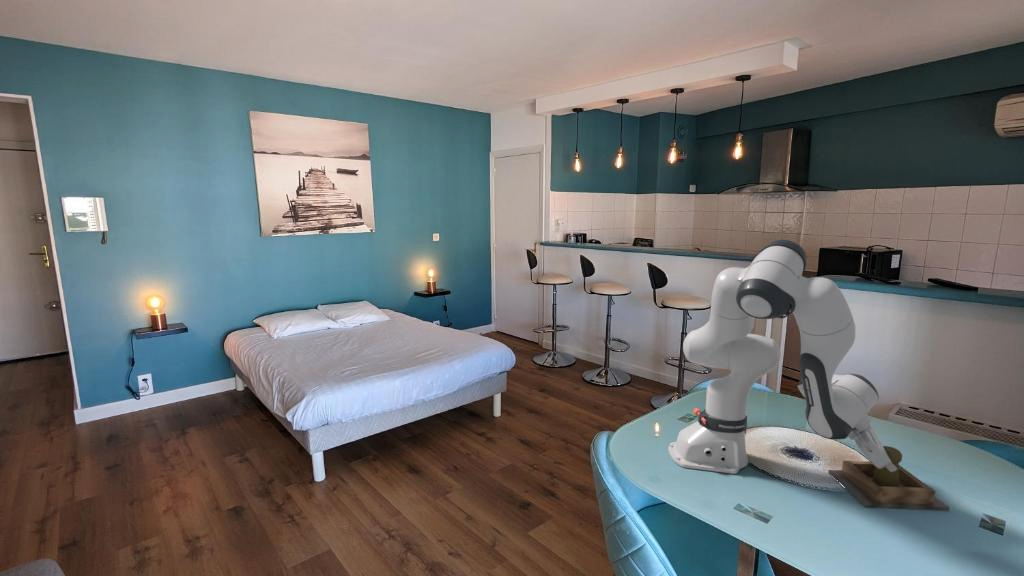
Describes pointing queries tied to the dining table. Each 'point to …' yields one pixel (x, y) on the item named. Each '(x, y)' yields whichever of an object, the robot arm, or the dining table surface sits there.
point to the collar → (886, 488)
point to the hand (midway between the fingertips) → (890, 464)
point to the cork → (884, 475)
